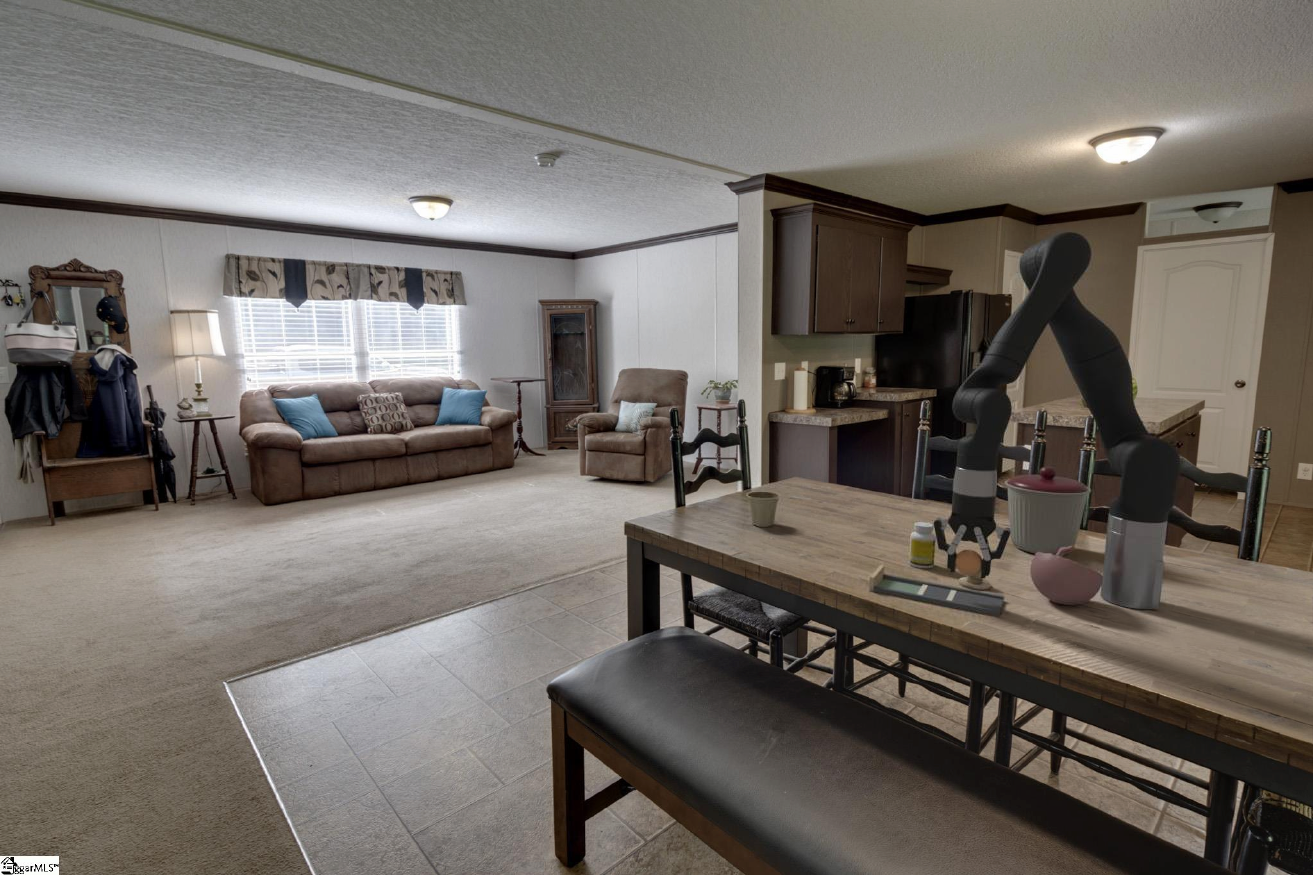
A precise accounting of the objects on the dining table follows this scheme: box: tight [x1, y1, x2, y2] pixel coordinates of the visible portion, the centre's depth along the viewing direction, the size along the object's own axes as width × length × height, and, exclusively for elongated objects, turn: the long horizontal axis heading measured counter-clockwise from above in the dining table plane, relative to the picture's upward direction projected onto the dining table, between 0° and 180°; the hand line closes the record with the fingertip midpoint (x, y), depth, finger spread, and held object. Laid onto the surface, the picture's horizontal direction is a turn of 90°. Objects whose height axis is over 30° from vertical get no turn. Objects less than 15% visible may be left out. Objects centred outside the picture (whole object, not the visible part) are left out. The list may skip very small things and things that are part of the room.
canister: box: [1004, 466, 1092, 556], centre depth 158 cm, size 18×18×21 cm
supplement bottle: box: [908, 521, 937, 569], centre depth 148 cm, size 5×5×10 cm
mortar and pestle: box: [1029, 546, 1103, 606], centre depth 126 cm, size 12×12×11 cm
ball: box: [955, 549, 983, 576], centre depth 126 cm, size 5×5×5 cm
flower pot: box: [746, 490, 781, 528], centre depth 182 cm, size 9×9×9 cm
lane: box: [868, 564, 1005, 618], centre depth 130 cm, size 24×9×3 cm, turn 57°
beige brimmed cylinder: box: [958, 569, 991, 591], centre depth 136 cm, size 6×6×4 cm
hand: (967, 573), depth 127 cm, fingers closed on ball, 5 cm apart
